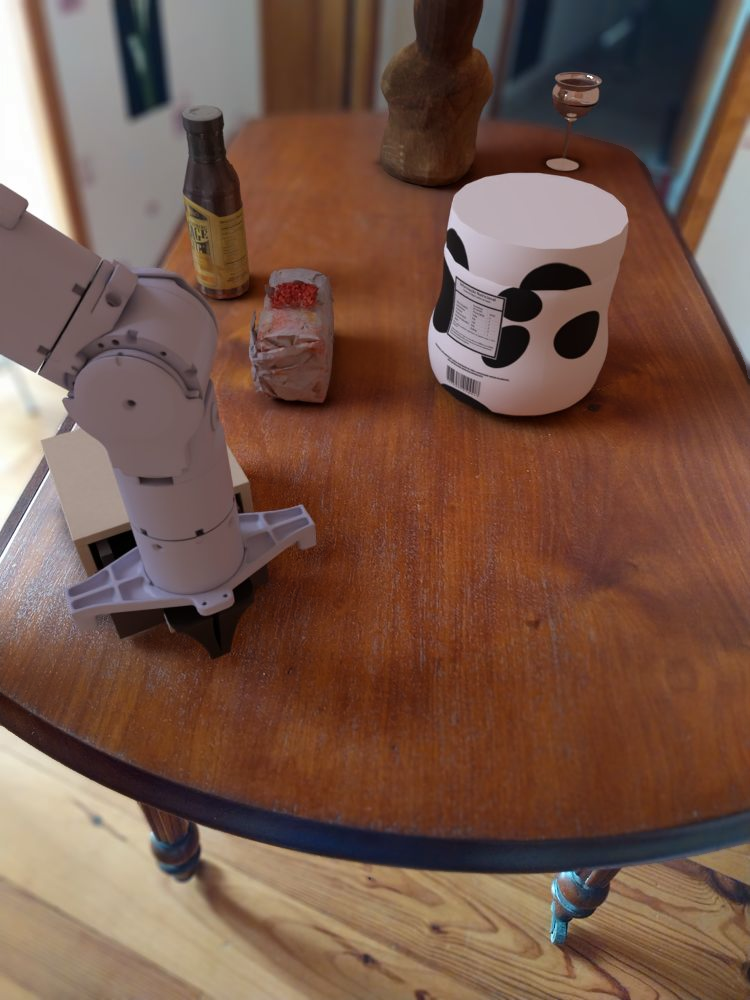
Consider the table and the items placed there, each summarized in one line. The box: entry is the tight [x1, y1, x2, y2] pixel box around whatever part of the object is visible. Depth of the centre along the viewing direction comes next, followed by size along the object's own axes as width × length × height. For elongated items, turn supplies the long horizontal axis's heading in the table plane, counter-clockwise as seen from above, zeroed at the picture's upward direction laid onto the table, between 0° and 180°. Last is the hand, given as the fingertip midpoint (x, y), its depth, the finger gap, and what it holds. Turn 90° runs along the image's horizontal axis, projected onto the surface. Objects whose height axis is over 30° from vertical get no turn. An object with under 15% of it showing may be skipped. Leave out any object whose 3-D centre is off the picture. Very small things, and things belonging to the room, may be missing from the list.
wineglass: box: [546, 71, 603, 172], centre depth 112 cm, size 7×7×12 cm
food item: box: [248, 267, 335, 404], centre depth 74 cm, size 14×8×10 cm, turn 1°
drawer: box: [94, 502, 270, 640], centre depth 55 cm, size 14×11×6 cm
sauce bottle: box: [181, 104, 251, 300], centre depth 82 cm, size 7×6×20 cm
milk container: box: [427, 172, 629, 418], centre depth 71 cm, size 17×17×18 cm
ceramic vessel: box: [379, 0, 495, 187], centre depth 102 cm, size 16×22×30 cm
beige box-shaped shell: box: [39, 427, 255, 579], centre depth 59 cm, size 12×13×8 cm
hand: (216, 644), depth 50 cm, fingers closed
